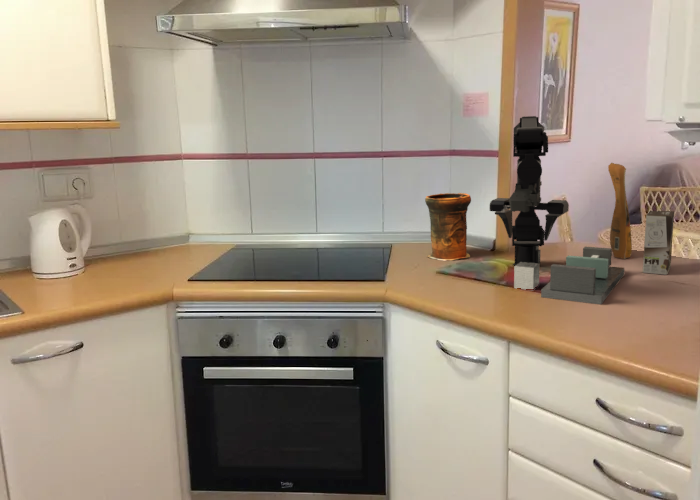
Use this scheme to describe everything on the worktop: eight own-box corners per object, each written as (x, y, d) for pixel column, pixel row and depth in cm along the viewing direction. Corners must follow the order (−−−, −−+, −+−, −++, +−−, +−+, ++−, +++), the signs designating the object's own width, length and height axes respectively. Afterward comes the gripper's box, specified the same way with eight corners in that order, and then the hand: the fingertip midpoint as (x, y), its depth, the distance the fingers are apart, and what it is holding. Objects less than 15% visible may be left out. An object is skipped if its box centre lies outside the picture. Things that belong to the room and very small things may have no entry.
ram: (565, 274, 161) (566, 257, 160) (578, 262, 172) (579, 246, 171) (605, 278, 155) (606, 260, 154) (616, 265, 167) (617, 248, 166)
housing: (514, 288, 159) (514, 266, 157) (520, 283, 163) (520, 261, 161) (533, 290, 156) (533, 267, 155) (538, 285, 160) (539, 263, 159)
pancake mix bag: (609, 260, 182) (613, 166, 176) (604, 246, 200) (608, 160, 194) (633, 260, 180) (639, 165, 174) (626, 247, 198) (631, 160, 191)
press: (541, 297, 150) (541, 265, 148) (571, 269, 174) (571, 242, 172) (601, 304, 142) (602, 271, 141) (624, 274, 166) (625, 246, 164)
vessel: (445, 263, 187) (444, 199, 183) (418, 256, 199) (416, 196, 195) (481, 256, 194) (480, 194, 190) (452, 250, 206) (451, 191, 202)
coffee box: (668, 275, 163) (672, 216, 160) (641, 273, 167) (645, 215, 163) (671, 267, 171) (675, 210, 168) (646, 265, 174) (649, 209, 171)
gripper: (481, 181, 152) (481, 242, 155) (558, 183, 142) (556, 248, 145) (497, 176, 161) (496, 234, 164) (570, 177, 151) (568, 239, 154)
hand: (527, 239), depth 157 cm, fingers open, 9 cm apart
